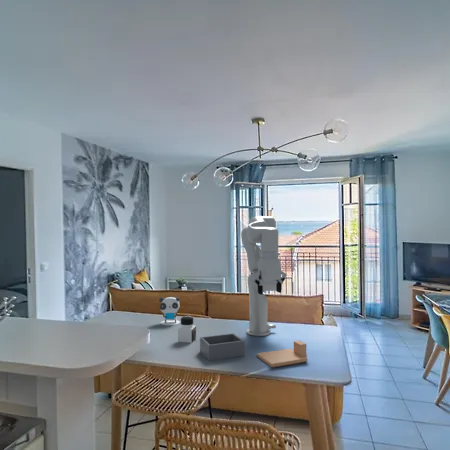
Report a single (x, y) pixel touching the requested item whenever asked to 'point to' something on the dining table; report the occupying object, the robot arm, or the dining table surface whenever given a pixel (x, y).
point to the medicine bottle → (187, 330)
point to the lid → (285, 355)
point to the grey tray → (221, 346)
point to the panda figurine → (170, 310)
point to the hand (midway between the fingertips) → (269, 293)
